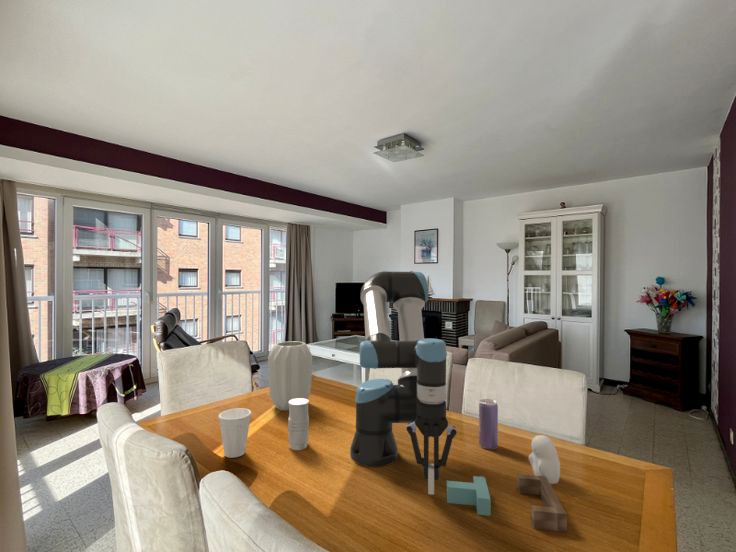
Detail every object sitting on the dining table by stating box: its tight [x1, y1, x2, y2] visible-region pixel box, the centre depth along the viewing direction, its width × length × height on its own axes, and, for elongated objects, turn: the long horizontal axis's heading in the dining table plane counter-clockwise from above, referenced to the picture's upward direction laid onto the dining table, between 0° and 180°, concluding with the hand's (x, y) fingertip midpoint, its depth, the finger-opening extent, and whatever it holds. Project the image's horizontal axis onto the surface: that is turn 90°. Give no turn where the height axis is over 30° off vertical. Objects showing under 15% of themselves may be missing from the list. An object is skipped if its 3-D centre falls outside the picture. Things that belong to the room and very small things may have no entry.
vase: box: [267, 340, 313, 412], centre depth 164 cm, size 20×20×28 cm
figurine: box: [528, 434, 561, 485], centre depth 106 cm, size 7×8×12 cm
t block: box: [446, 475, 492, 517], centre depth 95 cm, size 10×10×4 cm
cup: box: [217, 407, 252, 459], centre depth 120 cm, size 10×10×13 cm
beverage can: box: [478, 398, 499, 451], centre depth 126 cm, size 6×6×15 cm
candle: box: [287, 398, 310, 451], centre depth 126 cm, size 7×7×15 cm
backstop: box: [517, 473, 568, 533], centre depth 92 cm, size 7×16×4 cm, turn 170°
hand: (431, 491), depth 96 cm, fingers closed
